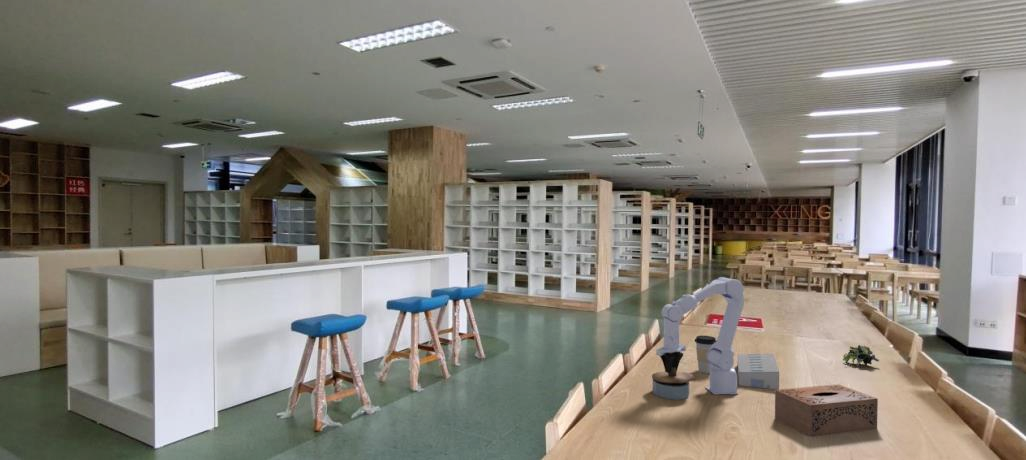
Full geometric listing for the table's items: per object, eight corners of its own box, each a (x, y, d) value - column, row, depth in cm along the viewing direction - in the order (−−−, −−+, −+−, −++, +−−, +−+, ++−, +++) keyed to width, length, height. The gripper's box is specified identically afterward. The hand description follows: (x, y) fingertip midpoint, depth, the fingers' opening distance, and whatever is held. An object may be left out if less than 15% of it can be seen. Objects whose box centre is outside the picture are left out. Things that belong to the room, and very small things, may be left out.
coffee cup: (719, 375, 215) (719, 340, 215) (695, 373, 217) (696, 339, 216) (714, 369, 224) (715, 335, 224) (692, 367, 226) (693, 334, 226)
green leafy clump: (864, 376, 233) (884, 358, 228) (856, 376, 226) (876, 357, 222) (843, 358, 241) (861, 340, 236) (835, 357, 234) (853, 338, 230)
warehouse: (737, 366, 230) (737, 350, 229) (772, 370, 224) (773, 353, 224) (738, 386, 202) (738, 367, 202) (778, 390, 196) (779, 371, 196)
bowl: (680, 388, 198) (680, 375, 198) (694, 399, 185) (694, 386, 185) (648, 388, 197) (648, 376, 197) (660, 400, 184) (660, 386, 184)
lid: (686, 373, 198) (685, 362, 198) (699, 382, 183) (698, 370, 183) (648, 374, 198) (647, 364, 198) (657, 383, 183) (657, 372, 183)
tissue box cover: (810, 437, 153) (810, 405, 153) (774, 419, 167) (775, 389, 167) (877, 429, 159) (877, 398, 159) (837, 413, 173) (838, 384, 173)
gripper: (667, 340, 184) (666, 377, 184) (692, 336, 191) (692, 371, 192) (652, 336, 189) (651, 372, 190) (677, 332, 197) (677, 366, 197)
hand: (671, 371), depth 191 cm, fingers closed on lid, 3 cm apart
